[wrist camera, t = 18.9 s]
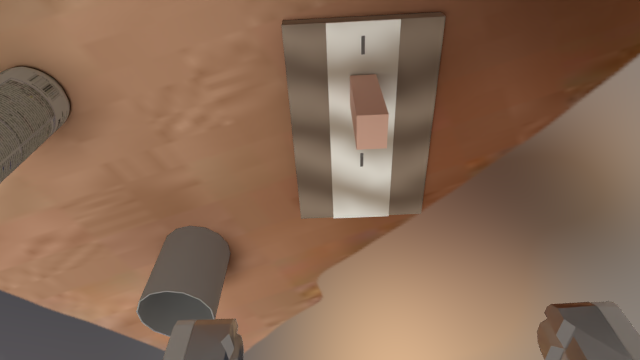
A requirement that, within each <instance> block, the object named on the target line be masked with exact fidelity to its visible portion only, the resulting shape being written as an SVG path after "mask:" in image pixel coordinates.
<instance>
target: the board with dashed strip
mask: <svg viewBox="0 0 640 360" xmlns="http://www.w3.org/2000/svg"><path fill="white" fill-rule="evenodd" d="M445 17H446V16H445V15H444V14H443V13H442V12H432V13H413V14H394V15H376V16H357V17H339V18H320V19H301V20H283V21H282V25H281V26H282V36H283V46H284V55H285V65H286V75H287V85H288V95H289V104H290V114H291V124H292V134H293V143H294V153H295V163H296V173H297V183H298V192H299V202H300V212H301V219H302V218H326V217H334V218H354V217H378V216H389V215H399V214H421V209H422V201H423V193H424V185H425V177H426V169H427V161H428V153H429V145H430V137H431V129H432V121H433V113H434V105H435V97H436V89H437V81H438V73H439V65H440V57H441V49H442V41H443V33H444V25H445ZM371 74H376V75H377V78H378V82H379V85H380V88H381V91H382V94H383V98H384V101H385V104H386V107H387V110H388V114H389V118H388V136H387V148H384V149H362V150H357V149H356V143H355V136H354V129H353V122H352V116H351V109H350V76H352V75H371Z"/></svg>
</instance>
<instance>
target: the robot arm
mask: <svg viewBox="0 0 640 360" xmlns="http://www.w3.org/2000/svg"><path fill="white" fill-rule="evenodd" d="M545 315H546V317H547V319H546V320H544V321H543V322H541V323H540V325H539V328H538V330H537V337H538V344H539V348H540V351H541V353H542V355H543V357H544V359H545V360H640V335H639V334H638V332H637V331H636V330H635V328H634V327H633V326H632V324H631V323H630V322H629V320H628V319H627V318H626V316H625V315H624V313H623V312H622V311H621V309H620V308H619V307H618V306H617V305H616V304H615V303H613V302H609V301H606V302H591V303H590V302H580V303H563V304H551V305H549V306H547V308H546V310H545ZM237 330H238V324H237V322H236V319H207V320H178V321H177V323H176V324H175V326H174V327H173V330H172V333H171V336H170V339H169V342H168V345H167V348H166V351H165V354H164V358H163V360H243V353H244V348H243V341H242V337H241V336H240V335H239V334H237Z"/></svg>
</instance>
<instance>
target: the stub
mask: <svg viewBox="0 0 640 360" xmlns="http://www.w3.org/2000/svg"><path fill="white" fill-rule="evenodd" d="M350 109H351V116H352V122H353V129H354V136H355V143H356V149H357V150H362V149H384V148H387V136H388V118H389V114H388V110H387V107H386V104H385V101H384V98H383V94H382V91H381V88H380V85H379V82H378V78H377V75H376V74H371V75H352V76H350Z"/></svg>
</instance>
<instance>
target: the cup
mask: <svg viewBox="0 0 640 360" xmlns="http://www.w3.org/2000/svg"><path fill="white" fill-rule="evenodd" d="M229 258H230V250H229V246H228V243H227V242H226V241H225V240H224V239H223V238H222V237H221V236H220V235H219V234H218V233H216V232H213V231H211V230H209V229H207V228H204V227H196V226H187V227H182V228H178V229H175V230H174V231H173V232H172V233H170V234H169V235H168V236H167V238H166V240H165V242H164V245H163V247H162V249H161V252H160V254H159V256H158V258H157V261H156V263H155V265H154V268H153V270H152V272H151V275H150V277H149V279H148V282H147V284H146V286H145V289H144V291H143V293H142V296H141V298H140V300H139V303H138V307H137V311H136V312H137V314H138V316H139V318H140V320H141V322H142V323H143V324H145V325H146V326H147V327H149V328H150V329H151V330H153V331H155V332H157V333H160V334H163V335H166V336H169V337H170V336H171V333H172V330H173V327H174V326H175V324H176V323H177V321H178V320H207V319H215V317H216V312H217V308H218V304H219V300H220V296H221V291H222V287H223V283H224V279H225V275H226V270H227V266H228V262H229Z"/></svg>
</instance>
